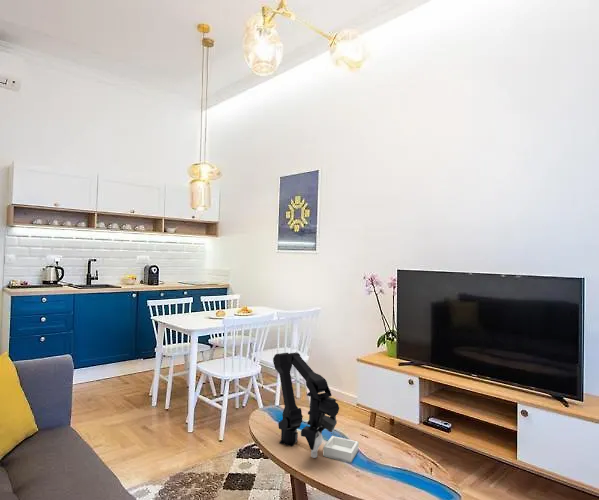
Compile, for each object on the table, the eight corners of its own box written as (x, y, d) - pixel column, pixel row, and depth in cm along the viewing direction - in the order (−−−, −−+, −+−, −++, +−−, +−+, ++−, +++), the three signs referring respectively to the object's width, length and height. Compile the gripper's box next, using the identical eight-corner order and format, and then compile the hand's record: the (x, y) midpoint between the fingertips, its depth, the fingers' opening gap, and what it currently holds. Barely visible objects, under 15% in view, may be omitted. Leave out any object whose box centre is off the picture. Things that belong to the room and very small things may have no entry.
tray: (323, 456, 174) (323, 446, 174) (331, 444, 185) (332, 435, 186) (350, 463, 170) (351, 453, 170) (358, 450, 181) (358, 441, 181)
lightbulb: (310, 462, 168) (312, 435, 169) (303, 455, 174) (305, 429, 174) (324, 459, 171) (325, 432, 172) (316, 453, 177) (318, 426, 177)
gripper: (328, 420, 161) (325, 461, 161) (341, 405, 179) (339, 442, 178) (301, 414, 166) (299, 454, 165) (317, 400, 183) (315, 436, 183)
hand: (314, 446), depth 173 cm, fingers closed on lightbulb, 6 cm apart
